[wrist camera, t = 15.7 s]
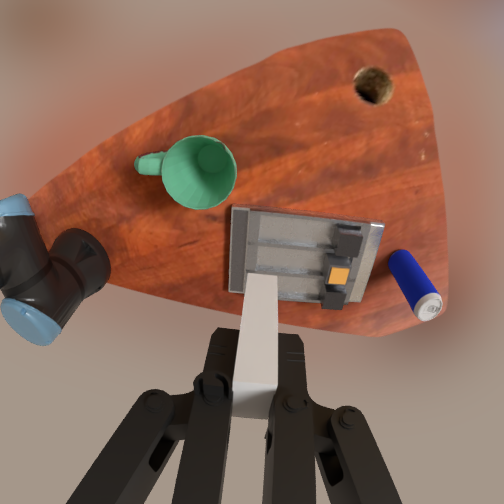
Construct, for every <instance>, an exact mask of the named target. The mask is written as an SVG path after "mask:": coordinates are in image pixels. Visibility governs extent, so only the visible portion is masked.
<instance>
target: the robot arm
mask: <svg viewBox="0 0 504 504" xmlns="http://www.w3.org/2000/svg"><path fill="white" fill-rule="evenodd" d="M34 216H35V214H34V213H33V212H32V210H31V207H30V204H29V201H28V199H27V197H26V196H25V195H23V194H16V195H13V196H10V197H8V198H5V199H2V200H0V289H1V291H2V293H3V295H4V297H5V299H3V300H2V303H1V306H0V307H1V311H2V314H3V317H4V318H5V320H6V321H7V323H8V324H9V325H10V326H11V327H12V328H13V329H14V330H15V331H16V332H17V333H18V334H19V335H20V336H22V337H23V338H25V339H26V340H28V341H30V342H31V343H33V344H36V345H40V346H46V345H49V344H51V343H52V342H53V341H54V339H55V338H56V337H57V336H58V335H59V334H60V333H61V331H62V329H63V327H64V326H65V324H66V323H67V322H68V320H69V319H70V317H71V316H72V315H73V313H74V312H75V310H76V309H77V308H78V306H79V305H80V303H81V302H82V301H83V300H84V299H85V298H87V297H89V296H90V295H92V294H94V293H96V292H98V291H99V290H101V289H102V288H103V287H104V285H105V284H106V283H107V281H108V280H109V277H110V273H111V267H110V261H109V258H108V256H107V253H106V251H105V250H104V248H103V247H102V245H101V244H100V243H99V242H98V240H97V239H96V238H94V237H93V236H92V235H91V234H89V233H88V232H86V231H84V230H81V229H76V228H71V229H67V230H65V231H64V232H63V233H61V234H60V235H59V236H58V237H57V238H56V240H55V241H54V243H53V246H52V248H51V250H50V252H49V254H48V251H47V249H46V246H45V244H44V241H43V239H42V236H41V234H40V231H39V228H38V226H37V223H36V220H35V217H34ZM193 385H194V390H193V391H191V392H189V393H186V394H180V395H169V394H167V393H166V392H165V391H163V390H158V389H151V390H148V391H146V392H144V393H143V394H142V395H140V396H139V398H138V399H137V401H136V402H135V404H134V405H133V406H132V408H131V409H130V411H129V413H128V414H127V415H126V417H125V418H124V419H123V421H122V422H121V424H120V425H119V427H118V428H117V430H116V431H115V432H114V434H113V435H112V437H111V438H110V440H109V441H108V443H107V444H106V445H105V447H104V448H103V450H102V451H101V453H100V454H99V456H98V457H97V459H96V460H95V461H94V463H93V464H92V466H91V468H90V469H89V470H88V472H87V473H86V475H85V476H84V478H83V479H82V481H81V482H80V484H79V485H78V486H77V488H76V489H75V491H74V492H73V494H72V495H71V497H70V498H69V500H68V501H67V503H66V504H144V502H145V501H146V499H147V497H148V495H149V494H150V492H151V490H152V488H153V486H154V485H155V483H156V481H157V480H158V478H159V476H160V474H161V473H162V471H163V469H164V467H165V465H166V464H167V462H168V460H169V458H170V456H171V455H172V453H173V451H174V449H175V447H176V446H177V444H178V442H179V440H185V441H184V446H183V451H182V455H181V460H180V464H179V470H178V474H177V479H176V484H175V489H174V494H173V499H172V504H221V499H222V491H223V482H224V475H225V466H226V459H227V451H228V443H229V435H230V424H231V416H235V417H244V418H254V419H268V417H269V419H268V428H267V432H266V434H265V439H266V451H265V468H264V469H265V470H264V485H263V501H262V504H316V480H315V479H316V478H315V457H316V461H317V464H318V467H319V470H320V472H321V476H322V478H323V482H324V485H325V488H326V491H327V493H328V496H329V500H330V503H331V504H402V502H401V500H400V497H399V495H398V492H397V490H396V488H395V485H394V483H393V480H392V478H391V476H390V473H389V471H388V469H387V466H386V464H385V462H384V460H383V457H382V455H381V453H380V451H379V448H378V446H377V444H376V441H375V439H374V437H373V435H372V433H371V430H370V428H369V426H368V424H367V421H366V419H365V417H364V415H363V414H362V412H361V411H360V410H358V409H357V408H355V407H352V406H342V407H339V408H337V409H336V410H334V409H330V408H327V407H323V406H321V405H318V404H316V403H315V402H314V401H313V400H312V399H311V398H310V396H309V394H308V391H307V382H306V369H305V356H304V344H303V342H302V340H301V339H300V337H299V335H298V334H285V333H278V285H277V276H274V275H264V274H254V273H248V276H247V283H246V290H245V297H244V304H243V312H242V319H241V326H240V330H236V329H227V328H219V327H218V328H217V329H216V330H215V332H214V333H213V334H212V336H211V339H210V344H209V348H208V352H207V356H206V360H205V365H204V370H203V372H202V373H200V374H199V375H198V376H197V377H196V378H195V380H194V382H193Z"/></svg>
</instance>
